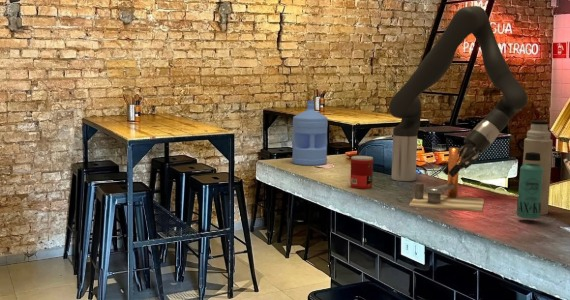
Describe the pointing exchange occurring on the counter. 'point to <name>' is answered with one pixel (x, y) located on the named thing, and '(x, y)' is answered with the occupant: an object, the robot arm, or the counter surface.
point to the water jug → (310, 137)
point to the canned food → (361, 172)
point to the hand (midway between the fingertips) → (447, 174)
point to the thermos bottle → (541, 144)
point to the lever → (452, 181)
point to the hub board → (444, 201)
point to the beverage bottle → (530, 188)
